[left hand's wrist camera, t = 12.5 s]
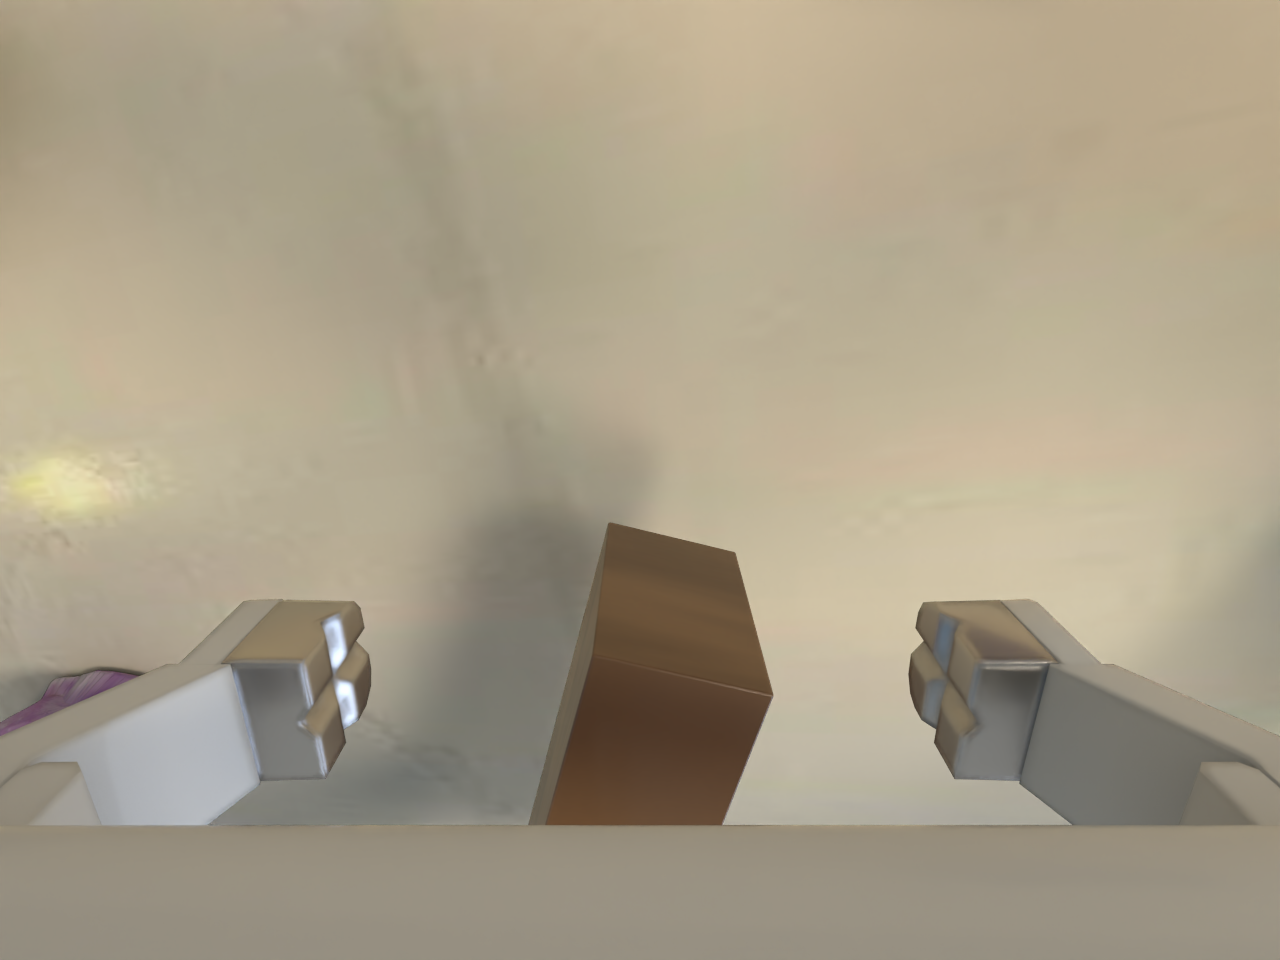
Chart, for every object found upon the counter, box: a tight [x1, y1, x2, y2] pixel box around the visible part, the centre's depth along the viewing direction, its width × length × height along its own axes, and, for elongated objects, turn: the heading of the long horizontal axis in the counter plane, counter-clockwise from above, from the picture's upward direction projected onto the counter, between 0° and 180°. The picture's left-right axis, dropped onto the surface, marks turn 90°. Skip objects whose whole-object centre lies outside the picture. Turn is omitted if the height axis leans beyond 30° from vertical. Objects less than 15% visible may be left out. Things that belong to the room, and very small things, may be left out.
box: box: [528, 523, 773, 825], centre depth 32 cm, size 28×6×10 cm, turn 165°
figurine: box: [0, 670, 138, 736], centre depth 42 cm, size 9×10×15 cm
